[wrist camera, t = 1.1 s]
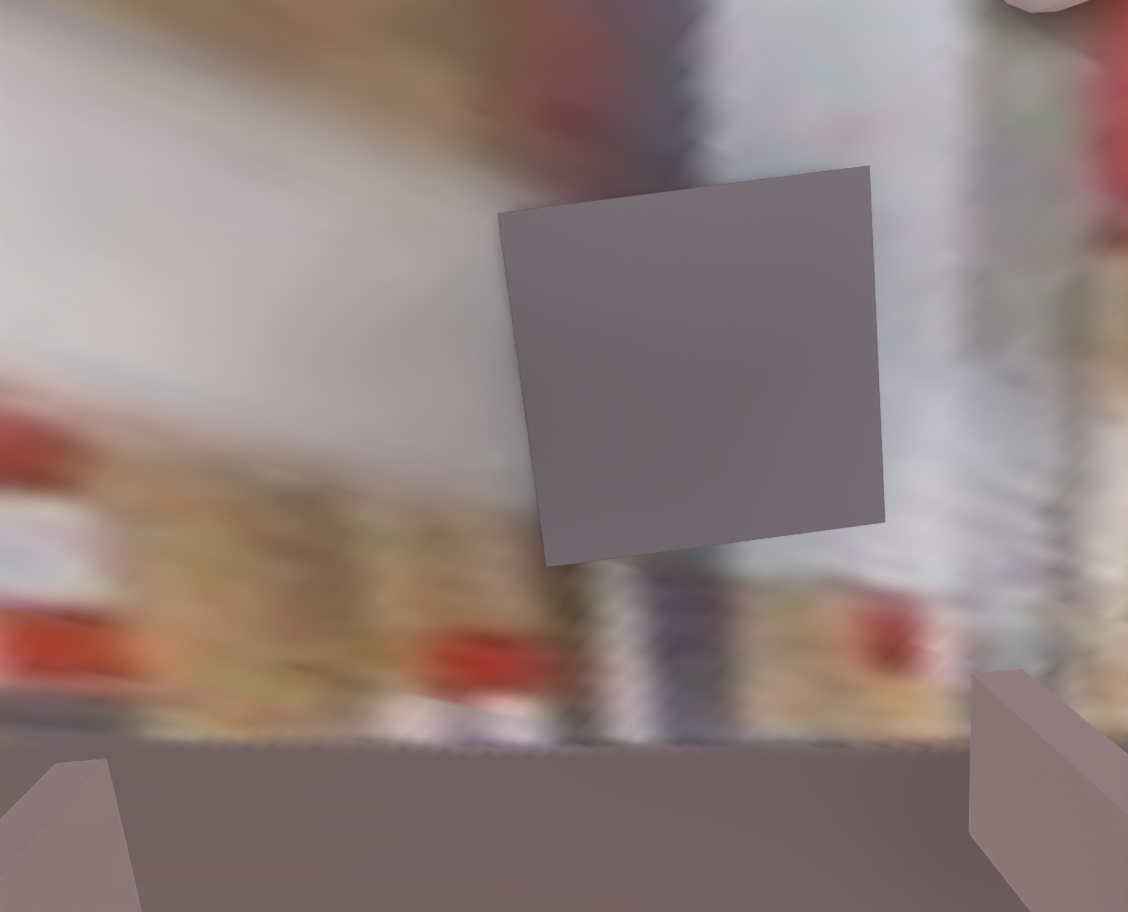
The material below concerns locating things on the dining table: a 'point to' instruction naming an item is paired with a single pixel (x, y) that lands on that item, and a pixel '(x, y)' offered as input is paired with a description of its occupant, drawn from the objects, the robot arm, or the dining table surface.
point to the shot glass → (1043, 5)
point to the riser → (699, 364)
